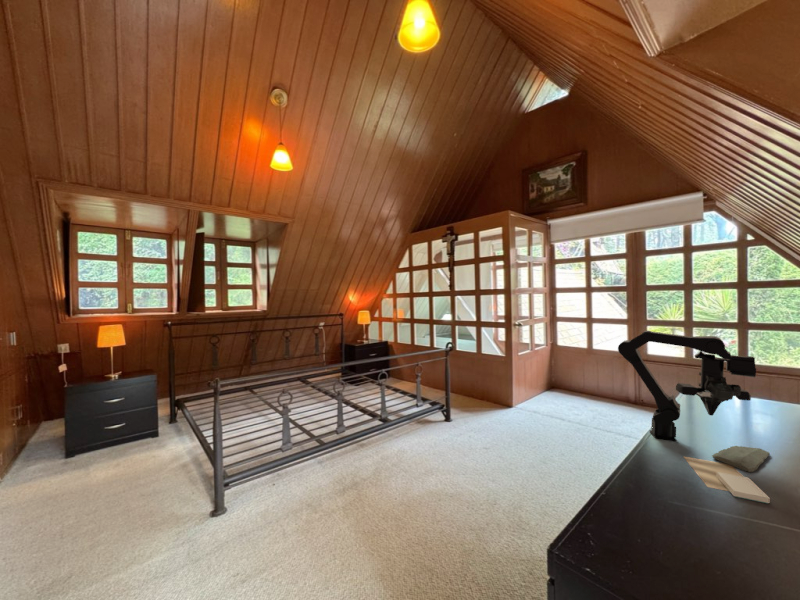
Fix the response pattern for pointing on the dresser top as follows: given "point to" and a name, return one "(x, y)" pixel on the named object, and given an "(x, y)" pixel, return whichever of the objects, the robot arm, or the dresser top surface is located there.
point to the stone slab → (742, 457)
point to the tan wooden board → (711, 471)
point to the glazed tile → (742, 487)
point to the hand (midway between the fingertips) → (710, 415)
